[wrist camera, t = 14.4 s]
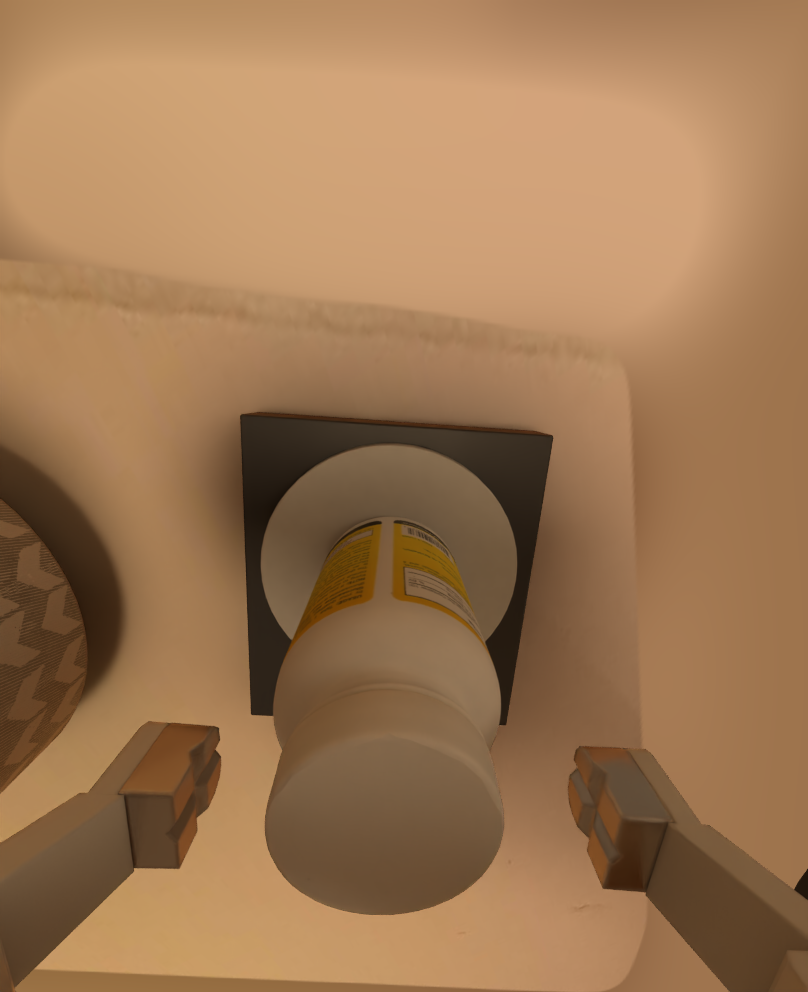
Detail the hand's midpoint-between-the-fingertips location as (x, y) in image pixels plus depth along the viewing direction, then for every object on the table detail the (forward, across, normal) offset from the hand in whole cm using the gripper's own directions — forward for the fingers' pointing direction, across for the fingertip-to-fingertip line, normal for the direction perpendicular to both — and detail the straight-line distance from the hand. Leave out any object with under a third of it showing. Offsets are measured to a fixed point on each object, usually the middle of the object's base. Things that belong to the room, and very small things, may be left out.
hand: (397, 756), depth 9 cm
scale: (+13, 0, +1) cm, 13 cm away
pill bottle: (+10, 0, 0) cm, 10 cm away
